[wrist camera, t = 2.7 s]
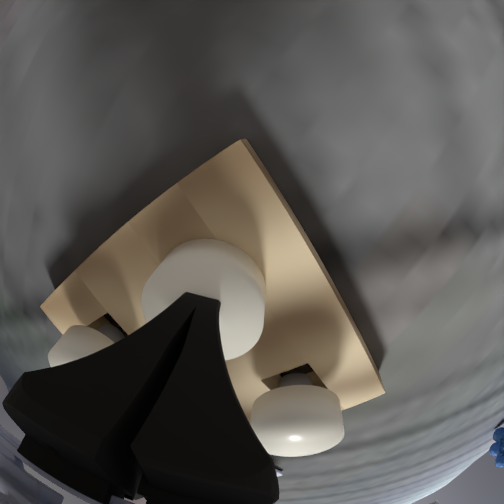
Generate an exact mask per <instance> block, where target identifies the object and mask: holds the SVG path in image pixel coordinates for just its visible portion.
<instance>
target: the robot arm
mask: <svg viewBox="0 0 504 504" xmlns="http://www.w3.org/2000/svg"><path fill="white" fill-rule="evenodd" d="M220 306H221V302H220V301H219V300H217V299H213V298H209V297H205V296H201V295H197V294H193V293H189V292H185V293H183V294H182V295H181V296H180V297H179V298H178V299H177V300H175V301H174V302H173V303H172V304H171V305H170V306H168V307H167V308H166V309H165V310H163V311H162V312H161V313H160V314H158V315H157V316H156V317H154V318H153V319H152V320H150V321H149V322H148V323H146V324H145V325H143V326H142V327H140V328H139V329H137V330H136V331H134V332H133V333H131V334H129V335H128V336H126V337H124V338H123V339H121V340H119V341H117V342H116V343H114V344H112V345H110V346H108V347H106V348H104V349H101V350H99V351H97V352H95V353H93V354H90V355H88V356H86V357H83V358H80V359H77V360H74V361H71V362H68V363H65V364H62V365H58V366H54V367H50V368H45V369H41V370H36V371H30V372H24V373H23V375H22V376H21V377H20V378H19V379H18V381H17V382H16V383H15V385H14V386H13V388H12V389H11V390H10V392H9V393H8V395H7V396H6V398H5V399H4V401H3V407H4V409H5V411H6V412H7V413H8V415H9V416H10V417H11V418H12V419H13V421H14V422H15V423H16V424H17V425H18V426H19V427H20V429H21V430H22V431H23V432H24V433H25V434H26V435H25V437H24V439H23V440H22V442H21V441H19V440H18V439H17V438H16V437H14V436H13V435H12V434H11V433H9V432H8V431H7V430H6V429H5V428H4V427H2V426H1V425H0V504H61V503H62V501H63V499H64V497H63V496H62V495H61V494H59V493H57V492H56V491H54V490H53V489H51V488H50V487H48V486H47V485H45V484H44V483H42V482H41V481H39V480H38V479H36V478H34V477H33V476H32V475H30V474H29V473H28V472H26V471H25V469H24V467H23V463H22V462H24V463H25V464H26V465H28V466H29V467H30V468H32V469H33V470H34V471H36V472H38V473H39V474H40V475H42V476H43V477H45V478H46V479H48V480H49V481H51V482H52V483H54V484H56V485H57V486H59V487H61V488H62V489H64V490H66V491H67V492H69V493H71V494H73V495H74V496H77V497H78V498H80V499H82V500H84V501H86V502H88V503H90V504H134V503H131V502H128V501H126V500H124V497H125V498H127V499H130V500H134V499H135V500H137V499H140V498H143V497H144V498H145V499H146V500H147V502H146V504H275V502H276V501H277V500H278V499H279V484H278V478H277V476H282V475H283V472H281V471H279V470H277V469H275V466H274V463H273V460H272V458H271V457H270V455H269V454H268V453H267V451H266V450H265V448H264V447H263V445H262V444H261V442H260V440H259V439H258V437H257V436H256V434H255V432H254V430H253V429H252V427H251V425H250V423H249V421H248V419H247V417H246V415H245V413H244V411H243V409H242V407H241V405H240V402H239V400H238V398H237V396H236V393H235V390H234V388H233V385H232V382H231V379H230V376H229V373H228V370H227V366H226V362H225V358H224V354H223V349H222V343H221V336H220V327H219V312H220ZM430 504H438V502H437V501H436V502H433V503H430Z"/></svg>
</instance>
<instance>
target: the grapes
mask: <svg viewBox="0 0 504 504" xmlns="http://www.w3.org/2000/svg"><path fill="white" fill-rule="evenodd" d="M493 439H494V440H495V441H496V442H495V443H494V444H492V446H491V447H490V450H489V452H490V454H491V455H492V456H497V458H496V459H495V465H496V467H498V468H500V467H504V427H501V428H498V429H496V430H495V432H494V434H493Z"/></svg>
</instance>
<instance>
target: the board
mask: <svg viewBox="0 0 504 504" xmlns="http://www.w3.org/2000/svg"><path fill="white" fill-rule="evenodd" d="M202 238H207V239H216V240H221V241H224V242H227V243H230V244H232V245H234V246H236V247H238V248H239V249H241V250H242V251H244V252H245V253H246V254H248V255H249V256H250V257H251V258H252V259H253V260H254V262H255V263H256V264H257V266H258V267H259V269H260V271H261V272H262V275H263V277H264V281H265V285H266V300H265V313H264V325H263V330H262V334H261V336H260V338H259V340H258V341H257V343H256V344H255V345H254V346H253V347H252V348H251V349H250V350H249V351H248V352H246V353H245V354H243V355H241V356H239V357H237V358H234V359H230V360H225V362H226V366H227V370H228V373H229V376H230V379H231V382H232V385H233V388H234V390H235V393H236V396H237V398H238V400H239V402H240V405H241V407H242V409H243V411H244V413H245V415H246V417H247V419H248V421H249V423H250V422H251V413H252V406H253V403H254V401H255V400H256V399H257V398H258V397H259V396H260V395H262V394H264V393H266V392H268V391H270V390H273V389H276V388H279V380H280V379H281V378H282V377H281V376H280V375H279V374H280V373H283V372H285V371H288V370H291V369H294V368H296V367H299V366H302V365H304V364H307V363H308V364H309V365H310V366H311V367H312V369H313V370H314V371H312V372H309V373H307V375H308V376H310V377H311V378H312V382H313V386H319V387H323V388H326V389H328V390H330V391H332V392H333V393H335V394H336V395H337V396H338V398H339V400H340V405H341V411H342V410H344V409H347V408H350V407H352V406H355V405H358V404H360V403H363V402H365V401H368V400H370V399H373V398H375V397H377V396H380V395H382V394H384V393H385V390H384V387H383V383H382V380H381V377H380V374H379V371H378V369H377V367H376V365H375V363H374V360H373V358H372V356H371V354H370V352H369V350H368V348H367V346H366V344H365V342H364V340H363V338H362V336H361V334H360V332H359V330H358V328H357V326H356V324H355V322H354V320H353V318H352V316H351V314H350V312H349V311H348V309H347V307H346V305H345V303H344V301H343V299H342V297H341V295H340V294H339V292H338V290H337V288H336V286H335V284H334V282H333V281H332V279H331V277H330V275H329V273H328V272H327V270H326V268H325V266H324V264H323V263H322V261H321V259H320V257H319V255H318V254H317V252H316V250H315V248H314V247H313V245H312V243H311V242H310V240H309V238H308V236H307V235H306V233H305V231H304V230H303V228H302V226H301V224H300V223H299V221H298V219H297V218H296V216H295V214H294V213H293V211H292V210H291V208H290V206H289V205H288V203H287V201H286V200H285V198H284V196H283V195H282V193H281V192H280V190H279V188H278V187H277V185H276V184H275V182H274V180H273V179H272V177H271V176H270V174H269V173H268V171H267V170H266V168H265V166H264V165H263V163H262V162H261V160H260V159H259V157H258V156H257V154H256V153H255V151H254V150H253V148H252V147H251V145H250V144H249V142H248V141H247V139H240V140H238V141H237V142H235V143H234V144H232V145H230V146H229V147H227V148H226V149H224V150H223V151H221V152H220V153H218V154H217V155H215V156H214V157H212V158H211V159H210V160H208V161H207V162H205V163H204V164H202V165H201V166H199V167H198V168H197V169H195V170H194V171H192V172H191V173H190V174H188V175H187V176H186V177H184V178H183V179H181V180H180V181H179V182H177V183H176V184H175V185H173V186H172V187H171V188H169V189H168V190H167V191H165V192H164V193H163V194H162V195H160V196H159V197H158V198H156V199H155V200H154V201H153V202H151V203H150V204H149V205H148V206H146V207H145V208H144V209H143V210H141V211H140V212H139V213H138V214H137V215H135V216H134V217H133V218H132V219H131V220H129V221H128V222H127V223H126V224H125V225H124V226H122V227H121V228H120V229H119V230H118V231H117V232H115V233H114V234H113V235H112V236H111V237H110V238H109V239H108V240H106V241H105V242H104V243H103V244H102V245H101V246H100V247H99V248H98V249H97V250H95V251H94V252H93V253H92V254H91V255H90V256H89V257H88V258H87V259H86V260H85V261H84V262H83V263H82V264H81V265H80V266H79V267H78V268H77V269H76V270H75V271H74V272H73V273H72V274H71V275H70V276H69V277H68V278H67V279H66V280H65V281H64V282H63V283H62V284H61V285H60V286H59V287H58V288H57V289H56V290H55V291H54V292H53V293H52V294H51V295H50V296H49V297H48V298H47V300H46V301H45V302H44V303H43V304H42V305H41V306H40V307H41V308H42V310H43V311H44V312H45V314H46V315H47V316H48V317H49V319H50V320H51V321H52V322H53V324H54V325H55V326H56V327H57V328H58V329H59V331H60V332H61V333H62V334H64V333H65V332H66V331H67V329H68V328H69V327H71V326H73V325H83V326H87V327H90V328H93V329H95V330H98V329H99V328H100V326H101V325H103V324H111V323H110V322H109V321H108V320H107V319H106V317H105V316H104V314H106V313H109V314H110V315H111V316H112V318H113V319H114V320H115V321H116V322H117V323H118V324H119V325H120V326H121V328H122V329H123V330H124V331H125V332H126V333H127V334H128V335H129V334H131V333H133V332H134V331H136V330H137V329H139V328H140V327H142V326H143V325H145V324H146V323H147V322H146V319H145V317H144V314H143V310H142V304H141V298H142V292H143V288H144V286H145V283H146V282H147V280H148V279H149V277H150V276H151V275H152V273H153V272H154V271H155V270H156V268H157V267H158V266H159V265H160V263H161V262H162V261H163V260H164V258H165V257H166V256H167V255H168V254H169V253H170V252H171V251H172V250H173V249H174V248H175V247H177V246H178V245H180V244H182V243H184V242H187V241H190V240H194V239H202ZM111 325H112V324H111Z"/></svg>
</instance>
